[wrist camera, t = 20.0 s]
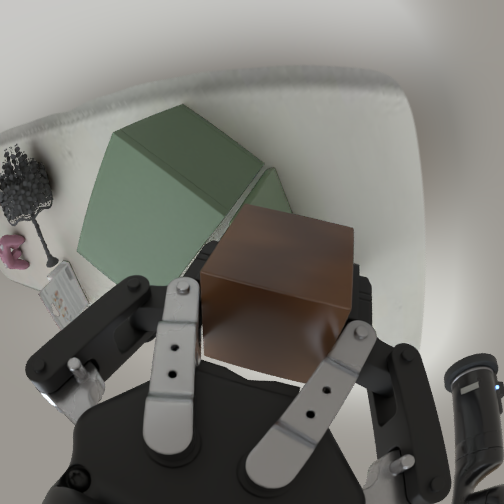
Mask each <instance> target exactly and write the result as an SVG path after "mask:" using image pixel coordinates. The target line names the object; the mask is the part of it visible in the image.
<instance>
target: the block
mask: <svg viewBox="0 0 504 504" xmlns="http://www.w3.org/2000/svg"><path fill="white" fill-rule="evenodd" d="M353 254H354V229H353V228H351V227H347V226H343V225H339V224H335V223H330V222H326V221H322V220H318V219H313V218H309V217H305V216H300V215H296V214H292V213H287V212H283V211H278V210H274V209H269V208H264V207H260V206H255V205H250V204H244V205H243V207H242V208H241V210H240V211H239V213H238V214H237V216H236V217H235V219H234V220H233V222H232V223H231V225H230V226H229V228H228V229H227V231H226V232H225V234H224V235H223V237H222V238H221V240H220V241H219V243H218V244H217V246H216V247H215V249H214V251H213V252H212V254H211V255H210V257H209V258H208V260H207V261H206V263H205V264H204V266H203V268H202V269H201V271H200V281H201V307H202V327H203V342H204V343H203V344H204V355H205V356H207V357H210V358H213V359H217V360H219V361H223V362H226V363H229V364H233V365H236V366H240V367H243V368H247V369H250V370H254V371H257V372H261V373H265V374H268V375H273V376H276V377H280V378H284V379H288V380H292V381H297V382H302V383H305V384H306V383H307V381H308V380H309V378H310V377H311V376H312V374H313V373H314V371H315V370H316V368H317V367H318V366H319V364H320V363H321V361H322V360H323V358H324V357H325V356H327V355H328V353H329V352H330V350H331V349H332V347H333V346H334V344H335V343H336V341H337V340H338V338H339V335H340V333H341V331H342V329H343V327H344V325H345V322H346V320H347V318H348V316H349V313H350V311H351V308H352V288H353Z"/></svg>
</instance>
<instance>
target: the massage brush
mask: <svg viewBox="0 0 504 504" xmlns="http://www.w3.org/2000/svg"><path fill="white" fill-rule="evenodd" d="M16 145H17V144H16ZM16 145H15V147H16ZM9 148H10V147H9ZM11 148H12V147H11ZM6 150H7V149H6ZM6 150H4V151H6ZM19 150H20V148H19V147H16V148H15V152H16V156H15V155H13V154H12V153H11V156H9V152H6V153H5V154H4V157H7V161H6V160H5V161H6V162H7V163H5V162H2V163H5V165H3V166H2V169H6V170H4V173H5V175H4V174H3V176H2V175H1V177H0V182H1V185H0V189H1V190H2V191H3V192H2V191H1V192H0V204H1V206H2V208H3V211H4V215H5V216H6V218H8V219H9V220H8V219H7V220H8V222H9V223H10V220H11V219H12V220H13V221H14V219H17V218H19V216H20V215H22V214H24V216H25V215H28V216H30V215H31V217H32V218H31V217H30V219H29V218H28V216H25V217H27V219H26V218H24V216H23V215H22V216H21V217H22V218H19V219H18V220H17V221H16V220H15V221H16V223H15V221H14V223H15V224H11V223H10V224H11V225H12V226H16V225H17V223H18V222H19V221H20V220H21V221H24V220H25V221H31V220H32V222H33V224H35V228H36V230H37V233H38V236H39V237H40V239H41V242H42V244H43V247H44V250H45V252H46V255H47V258H48V261H47V264H46V266H47V267H53V266H55V265H56V264H57V263H58V261H59V260H58V259H57V258H55V257H53V256H52V255H51V254H50V253H49V250H48V248H47V244H46V243H45V241H44V238H43V236H42V233H41V230H40V228H39V224H37V221H36V220H35V218H36V216H37V215H38V213H40V212H41V211H42V210H43V209H49V208H50V207H51V206H52V200H53V197H50V196H52V190H51V189H50V185H49V181H48V177H47V175H46V171H45V167H44V165H43V163H42V162H41V164H42V166H40V165H41V164H40V165H39V162H38V164H37V161H34V158H30V159H32V161H31V162H30V160H29V159H28V160H29V162H28V161H27V159H26V158H27V155H26V154H25V153H24V155H21V153H22V152H20V151H19ZM10 151H11V150H10ZM18 151H19V152H18ZM17 152H18V153H17ZM22 154H23V153H22ZM20 155H21V157H19V156H20ZM10 157H11V159H13V160H12V163H13V164H14V167H15V169H14V170H13V166H12V165H11V162H10ZM16 157H17V158H18V157H19V158H18V161H19V164H18V161H17V160H15V159H16ZM25 159H26V160H25ZM22 160H23V161H22ZM16 161H17V164H18V166H17V164H16ZM29 163H30V165H29V166H28V164H29ZM38 167H40V169H39V171H38ZM18 168H19V169H20V170H18ZM30 169H31V170H30ZM2 172H3V171H2ZM14 172H15V173H16V174H15V173H14ZM39 172H40V173H39ZM0 174H1V173H0ZM21 174H22V175H21ZM42 174H43V175H44V176H43V175H42ZM5 176H6V178H5ZM9 176H10V177H9ZM4 178H5V179H4ZM21 178H22V179H21ZM41 182H42V183H41ZM43 187H44V189H43ZM46 191H47V192H46ZM3 193H4V194H3ZM44 193H45V194H44ZM50 194H51V195H50ZM47 196H48V197H47ZM46 197H47V198H46ZM50 200H51V204H50V206H47V205H48V203H47V201H50ZM11 201H12V202H11ZM35 201H36V202H35ZM43 202H44V205H45V202H46V203H47V205H46V206H47V207H39V206H41V204H43ZM40 203H41V204H40ZM49 203H50V202H49ZM7 204H8V205H7ZM39 204H40V205H39ZM5 205H6V206H5ZM33 205H34V206H33ZM42 206H43V205H42ZM38 207H39V208H38ZM8 208H9V209H8ZM35 208H36V209H38V210H37V211H36V212H37V213H36V214H34V213H35V212H34V211H35V210H36V209H35ZM41 209H42V210H41ZM9 210H11V211H9ZM40 210H41V211H40ZM14 211H15V212H14ZM39 211H40V212H39ZM8 214H10V216H9V215H8ZM11 214H12V216H11ZM29 214H30V215H29ZM14 216H15V217H14ZM16 216H17V218H16ZM11 222H12V221H11Z"/></svg>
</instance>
